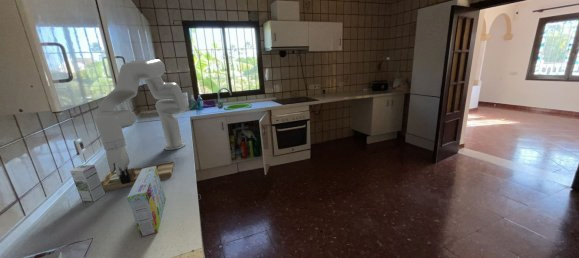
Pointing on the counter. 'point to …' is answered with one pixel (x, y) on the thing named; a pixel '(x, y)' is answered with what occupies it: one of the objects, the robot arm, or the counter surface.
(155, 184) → the snack box
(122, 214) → the counter surface
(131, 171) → the block
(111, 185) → the tray
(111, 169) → the robot arm
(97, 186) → the syrup box
